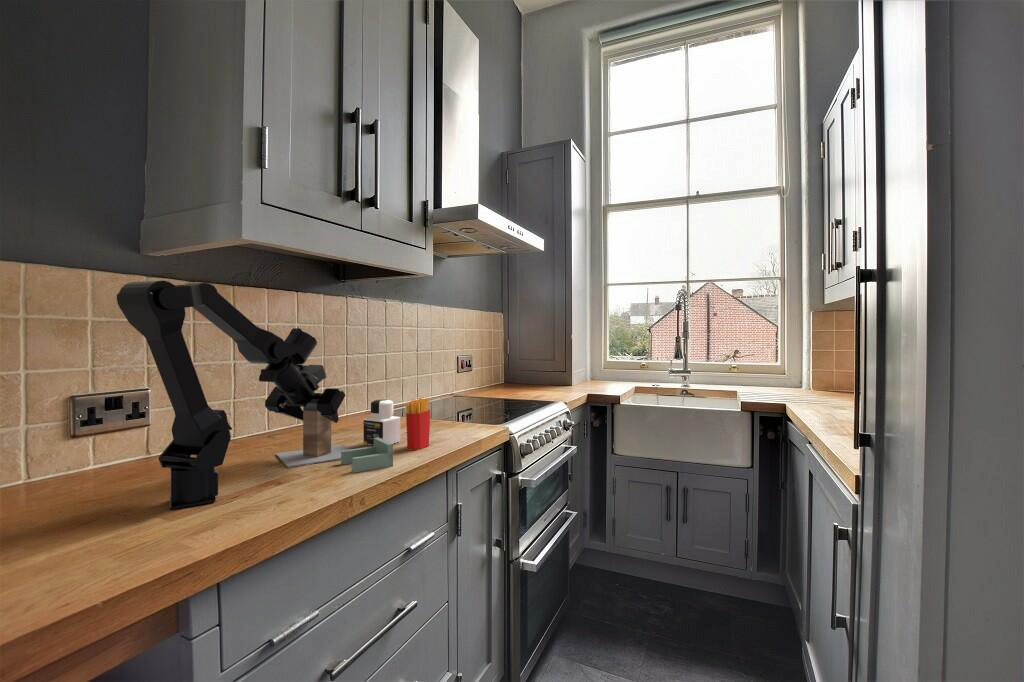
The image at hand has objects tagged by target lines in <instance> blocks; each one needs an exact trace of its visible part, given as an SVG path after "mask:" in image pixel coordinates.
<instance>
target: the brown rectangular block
mask: <svg viewBox="0 0 1024 682" xmlns="http://www.w3.org/2000/svg"><path fill="white" fill-rule="evenodd" d="M302 410H303V421H302V422H303V423H302V428H303V429H302V436H303V437H302V438H303V439H302V450H303V456H310V457H320V456H323V455H327V454H330V453H331V446H332V421H331V420H329V419H327V418H325V417H324V416H322V415H320V414H321V413H320V412H319V411H318V410H317V403H307V405H306V406H305V407H302Z"/></svg>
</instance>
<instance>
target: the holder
mask: <svg viewBox="0 0 1024 682" xmlns="http://www.w3.org/2000/svg"><path fill="white" fill-rule="evenodd" d="M340 464H341V465H343V466H345V464H346V465H350V464H351V473H352V474H353V473H355V472H356V473H361V472H360V471H362V472H367V471H373V470H378V468H379V469H384V468H383V467H385V468H390V467H389V466H391V467H393V466H394V444H392V443H390V442H387V441H385V440H383V439H381V438H379V437H378V438H374V446H367V447H366V446H365V447H359V448H353V449H352V448H351V449H350V450H344V451H341V460H340ZM372 469H373V470H372ZM356 473H355V474H356Z"/></svg>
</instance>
